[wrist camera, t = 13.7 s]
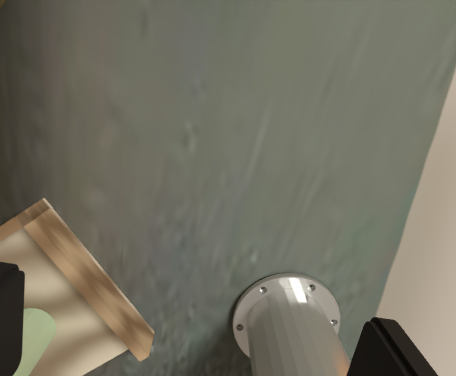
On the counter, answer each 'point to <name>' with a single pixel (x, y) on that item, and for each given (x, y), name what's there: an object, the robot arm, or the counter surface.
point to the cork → (2, 3)
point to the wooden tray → (71, 295)
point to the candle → (35, 338)
